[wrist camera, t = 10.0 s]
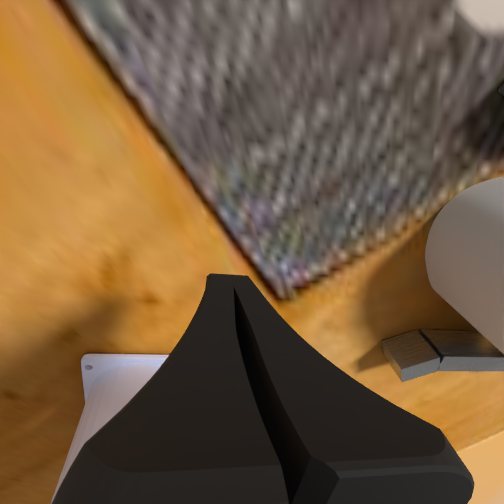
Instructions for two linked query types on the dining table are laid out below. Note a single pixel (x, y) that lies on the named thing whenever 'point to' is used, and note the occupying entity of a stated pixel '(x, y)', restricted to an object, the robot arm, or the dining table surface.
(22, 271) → the dining table surface
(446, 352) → the bracket
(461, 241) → the lumpy-topped squat cylinder
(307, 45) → the dining table surface
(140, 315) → the dining table surface
